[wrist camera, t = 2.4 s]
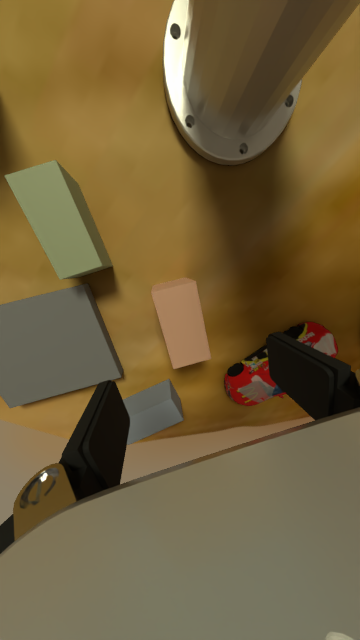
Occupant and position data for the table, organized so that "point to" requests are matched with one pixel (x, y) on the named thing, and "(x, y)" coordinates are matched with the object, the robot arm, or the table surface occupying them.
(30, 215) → the olive brick
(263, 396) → the race car
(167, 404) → the slate brick
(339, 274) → the table surface
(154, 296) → the terracotta brick
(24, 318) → the charcoal mat
